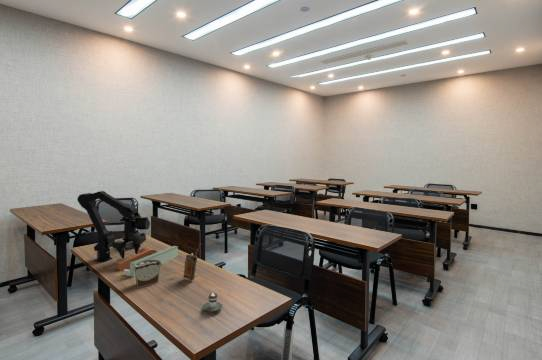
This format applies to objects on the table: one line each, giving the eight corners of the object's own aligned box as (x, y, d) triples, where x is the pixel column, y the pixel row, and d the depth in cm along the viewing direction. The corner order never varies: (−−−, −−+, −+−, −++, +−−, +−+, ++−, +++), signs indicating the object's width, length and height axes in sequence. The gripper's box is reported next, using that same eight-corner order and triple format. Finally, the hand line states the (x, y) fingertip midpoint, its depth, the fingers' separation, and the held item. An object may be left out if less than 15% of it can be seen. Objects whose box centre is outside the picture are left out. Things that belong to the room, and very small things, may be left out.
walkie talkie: (205, 278, 141) (206, 242, 140) (183, 287, 130) (183, 248, 129) (188, 272, 148) (189, 237, 147) (166, 279, 138) (166, 242, 137)
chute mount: (123, 274, 142) (123, 261, 142) (168, 255, 172) (168, 244, 172) (134, 277, 140) (134, 263, 139) (177, 257, 170) (177, 246, 170)
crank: (152, 258, 167) (152, 245, 167) (158, 262, 162) (158, 248, 161) (114, 267, 153) (114, 252, 152) (120, 271, 147) (120, 256, 147)
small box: (141, 249, 184) (141, 232, 184) (131, 251, 179) (131, 234, 178) (133, 245, 191) (133, 230, 190) (123, 247, 186) (123, 231, 185)
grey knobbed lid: (200, 317, 106) (200, 303, 106) (194, 302, 117) (195, 290, 117) (231, 310, 111) (232, 298, 111) (223, 297, 122) (223, 285, 122)
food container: (155, 277, 140) (155, 257, 140) (161, 281, 136) (161, 260, 135) (129, 284, 132) (129, 263, 131) (134, 288, 127) (134, 266, 127)
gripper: (127, 234, 149) (127, 263, 150) (153, 227, 167) (153, 253, 168) (111, 231, 153) (111, 260, 154) (138, 225, 171) (138, 251, 172)
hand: (129, 256), depth 162 cm, fingers open, 9 cm apart
